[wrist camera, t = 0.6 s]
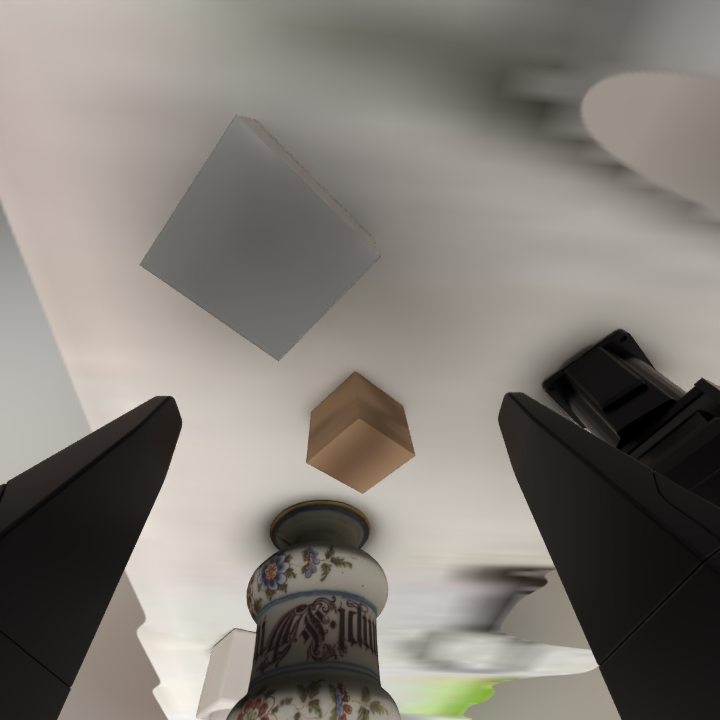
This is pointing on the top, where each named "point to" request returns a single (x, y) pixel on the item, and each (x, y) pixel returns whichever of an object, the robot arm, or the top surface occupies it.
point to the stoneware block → (260, 242)
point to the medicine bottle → (227, 675)
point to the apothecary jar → (317, 621)
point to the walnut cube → (359, 434)
